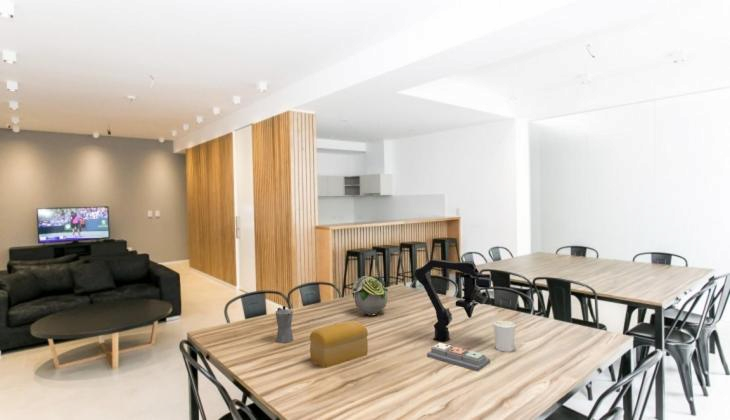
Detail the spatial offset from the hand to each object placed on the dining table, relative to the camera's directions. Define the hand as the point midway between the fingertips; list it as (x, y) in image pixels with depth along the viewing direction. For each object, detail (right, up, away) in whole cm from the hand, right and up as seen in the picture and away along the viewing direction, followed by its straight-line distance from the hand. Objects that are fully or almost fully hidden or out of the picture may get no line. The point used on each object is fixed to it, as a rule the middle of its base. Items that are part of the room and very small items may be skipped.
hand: (469, 317), depth 198 cm
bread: (-65, -15, -15) cm, 68 cm away
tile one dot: (-5, -12, -25) cm, 28 cm away
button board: (-11, -14, -20) cm, 26 cm away
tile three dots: (-11, -12, -20) cm, 25 cm away
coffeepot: (-95, -14, +10) cm, 97 cm away
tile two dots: (-17, -12, -14) cm, 25 cm away
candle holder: (+15, -13, -7) cm, 21 cm away
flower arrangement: (-49, -13, +55) cm, 75 cm away
